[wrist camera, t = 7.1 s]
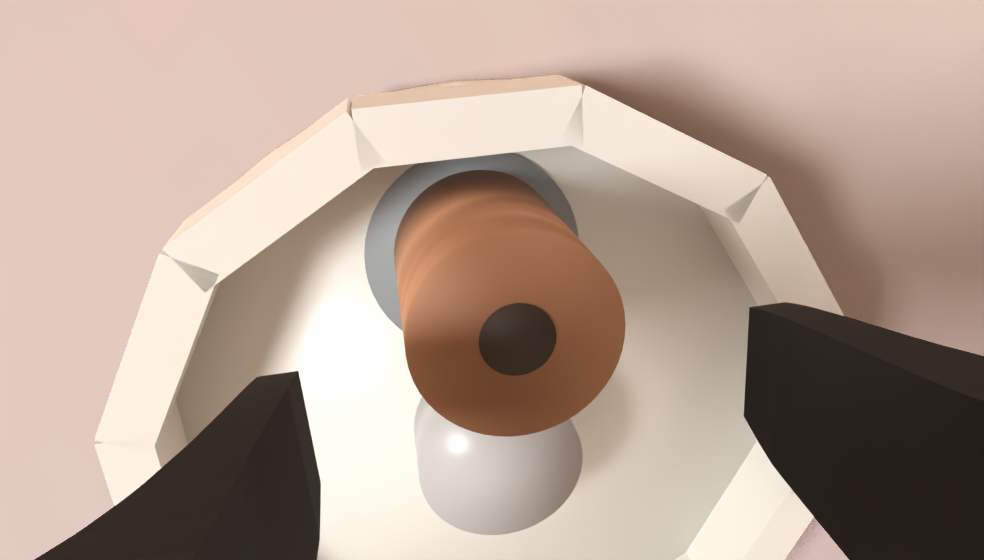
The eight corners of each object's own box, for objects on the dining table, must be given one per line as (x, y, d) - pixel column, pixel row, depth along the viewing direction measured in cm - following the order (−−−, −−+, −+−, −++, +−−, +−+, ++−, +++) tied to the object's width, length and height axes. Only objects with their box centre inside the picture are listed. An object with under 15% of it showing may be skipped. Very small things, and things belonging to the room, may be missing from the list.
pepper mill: (555, 160, 18) (624, 218, 13) (563, 316, 19) (627, 420, 14) (383, 180, 17) (390, 248, 12) (404, 339, 18) (418, 453, 14)
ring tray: (808, 44, 18) (881, 53, 16) (767, 595, 25) (814, 665, 22) (53, 121, 16) (-5, 146, 14) (225, 698, 23) (207, 788, 20)
